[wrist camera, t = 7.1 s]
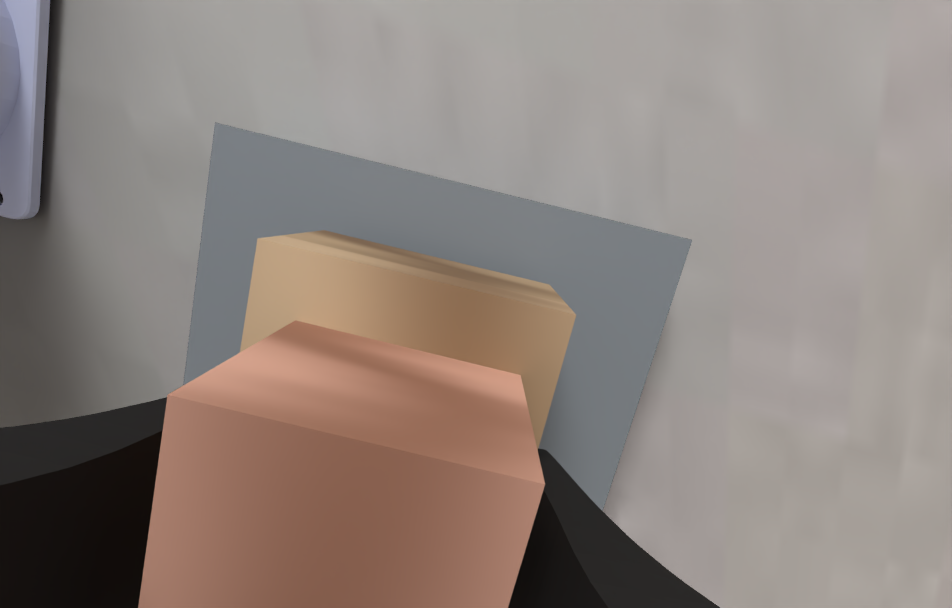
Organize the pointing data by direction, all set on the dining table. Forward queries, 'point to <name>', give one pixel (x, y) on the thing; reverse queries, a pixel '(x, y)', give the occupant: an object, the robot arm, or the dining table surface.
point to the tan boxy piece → (413, 306)
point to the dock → (456, 239)
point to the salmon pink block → (342, 480)
